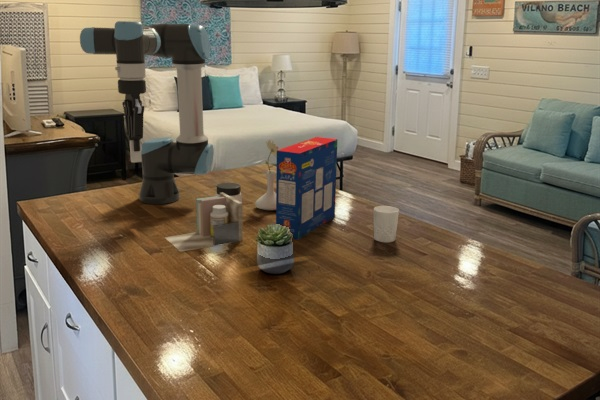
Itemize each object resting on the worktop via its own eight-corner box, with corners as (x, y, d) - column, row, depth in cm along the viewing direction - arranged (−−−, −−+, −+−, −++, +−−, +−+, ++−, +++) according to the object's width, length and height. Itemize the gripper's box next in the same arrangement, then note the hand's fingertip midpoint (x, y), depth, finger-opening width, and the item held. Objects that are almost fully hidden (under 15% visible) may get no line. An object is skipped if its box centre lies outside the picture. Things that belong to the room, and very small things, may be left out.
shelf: (164, 241, 190) (162, 200, 186) (223, 231, 200) (223, 192, 196) (180, 255, 178) (179, 212, 175) (242, 244, 188) (242, 203, 185)
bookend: (213, 244, 184) (212, 225, 183) (237, 240, 188) (237, 221, 187) (214, 245, 183) (214, 226, 182) (238, 241, 187) (238, 222, 186)
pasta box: (314, 213, 220) (316, 136, 213) (334, 217, 217) (337, 139, 209) (275, 235, 197) (276, 150, 189) (297, 240, 193) (299, 153, 185)
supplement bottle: (220, 233, 194) (220, 202, 191) (232, 238, 190) (232, 206, 187) (207, 237, 190) (206, 206, 187) (218, 242, 186) (217, 210, 183)
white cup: (398, 236, 198) (400, 207, 195) (394, 244, 191) (396, 214, 188) (375, 233, 200) (376, 204, 197) (369, 241, 193) (371, 211, 190)
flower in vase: (288, 212, 221) (288, 144, 214) (256, 213, 219) (256, 144, 212) (283, 202, 233) (283, 137, 226) (253, 203, 231) (253, 138, 224)
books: (197, 232, 195) (196, 197, 192) (220, 228, 199) (219, 193, 196) (203, 236, 191) (202, 201, 187) (226, 232, 195) (226, 197, 192)
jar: (246, 220, 211) (245, 186, 208) (226, 224, 206) (225, 190, 203) (231, 213, 218) (231, 181, 215) (212, 217, 213) (211, 184, 210)
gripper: (111, 77, 174) (117, 158, 180) (124, 81, 163) (129, 167, 170) (137, 76, 177) (142, 156, 184) (152, 80, 167) (156, 164, 173)
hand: (136, 161), depth 177 cm, fingers closed
